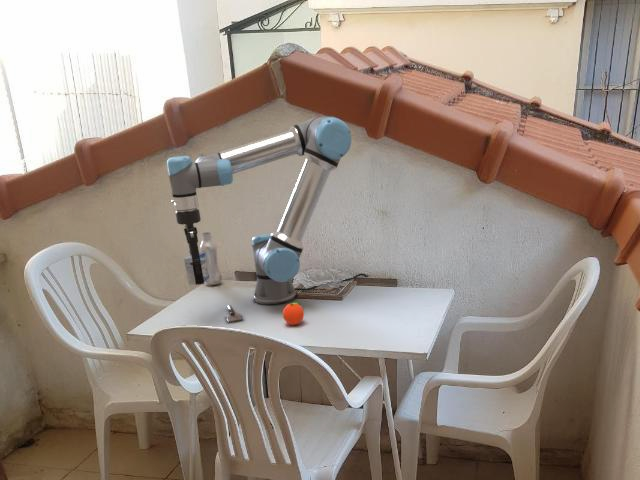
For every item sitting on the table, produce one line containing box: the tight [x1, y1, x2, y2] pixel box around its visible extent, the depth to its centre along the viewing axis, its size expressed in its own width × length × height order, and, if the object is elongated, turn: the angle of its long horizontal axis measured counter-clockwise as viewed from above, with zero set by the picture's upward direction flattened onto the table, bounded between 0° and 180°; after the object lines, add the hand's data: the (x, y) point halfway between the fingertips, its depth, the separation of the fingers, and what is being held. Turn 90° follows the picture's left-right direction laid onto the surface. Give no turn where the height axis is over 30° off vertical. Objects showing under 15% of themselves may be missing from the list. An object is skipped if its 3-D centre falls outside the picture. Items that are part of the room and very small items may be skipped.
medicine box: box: [183, 251, 209, 286], centre depth 228 cm, size 8×4×9 cm, turn 167°
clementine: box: [282, 302, 305, 326], centre depth 227 cm, size 8×7×7 cm
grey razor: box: [225, 304, 243, 324], centre depth 241 cm, size 16×5×2 cm, turn 15°
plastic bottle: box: [199, 231, 222, 286], centre depth 272 cm, size 6×7×20 cm
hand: (199, 280), depth 230 cm, fingers closed on medicine box, 9 cm apart
